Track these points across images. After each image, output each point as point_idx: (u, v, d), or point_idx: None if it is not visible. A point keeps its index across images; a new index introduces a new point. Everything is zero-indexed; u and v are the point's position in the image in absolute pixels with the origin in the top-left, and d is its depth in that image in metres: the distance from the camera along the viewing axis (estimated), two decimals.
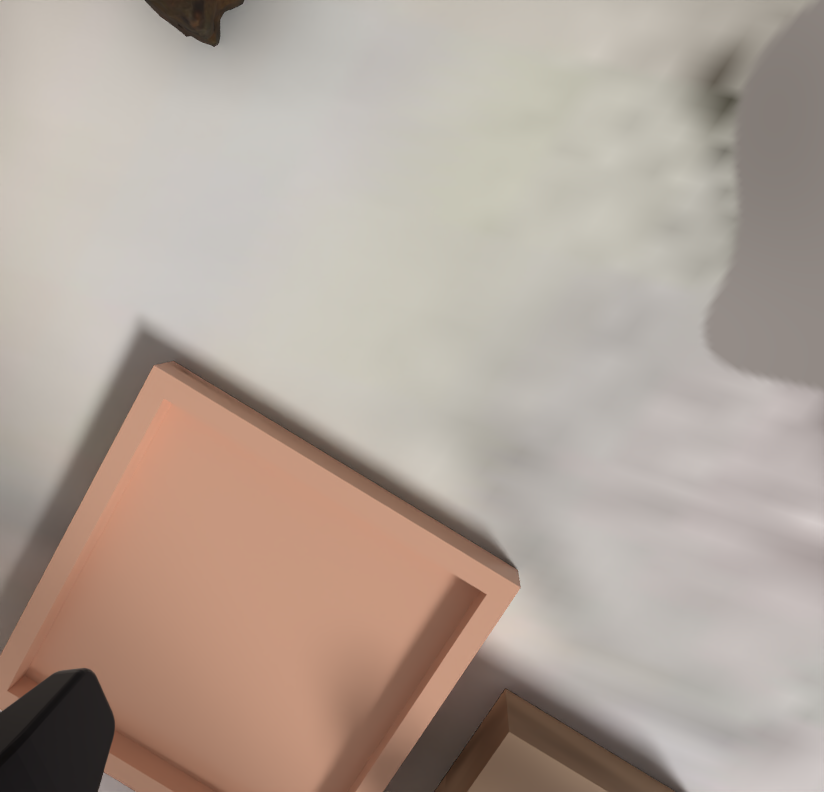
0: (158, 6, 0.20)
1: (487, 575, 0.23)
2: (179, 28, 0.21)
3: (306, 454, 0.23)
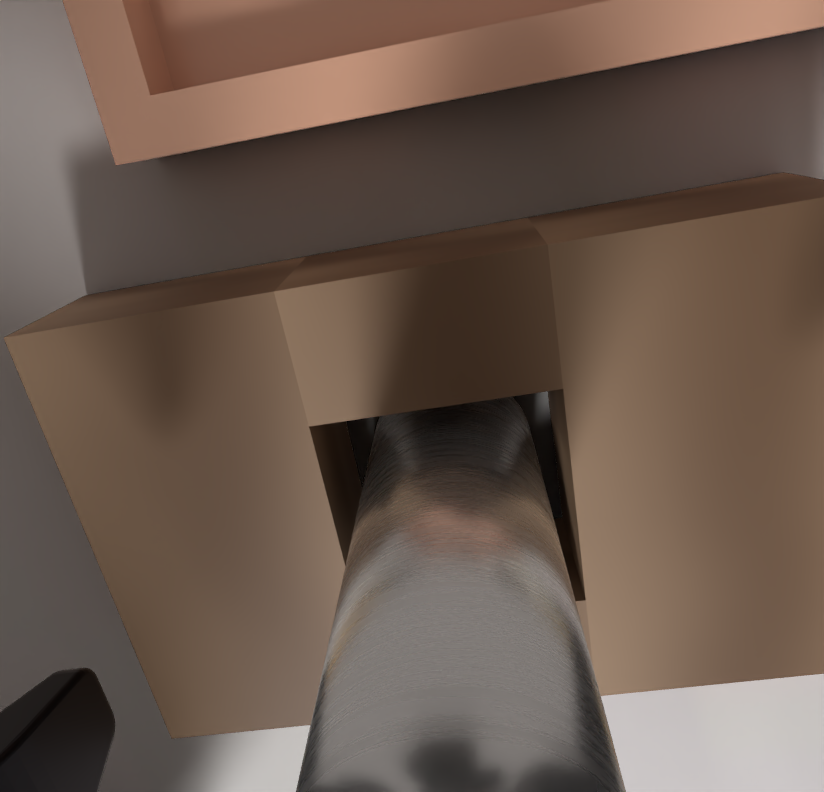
0: None
1: None
2: None
3: None
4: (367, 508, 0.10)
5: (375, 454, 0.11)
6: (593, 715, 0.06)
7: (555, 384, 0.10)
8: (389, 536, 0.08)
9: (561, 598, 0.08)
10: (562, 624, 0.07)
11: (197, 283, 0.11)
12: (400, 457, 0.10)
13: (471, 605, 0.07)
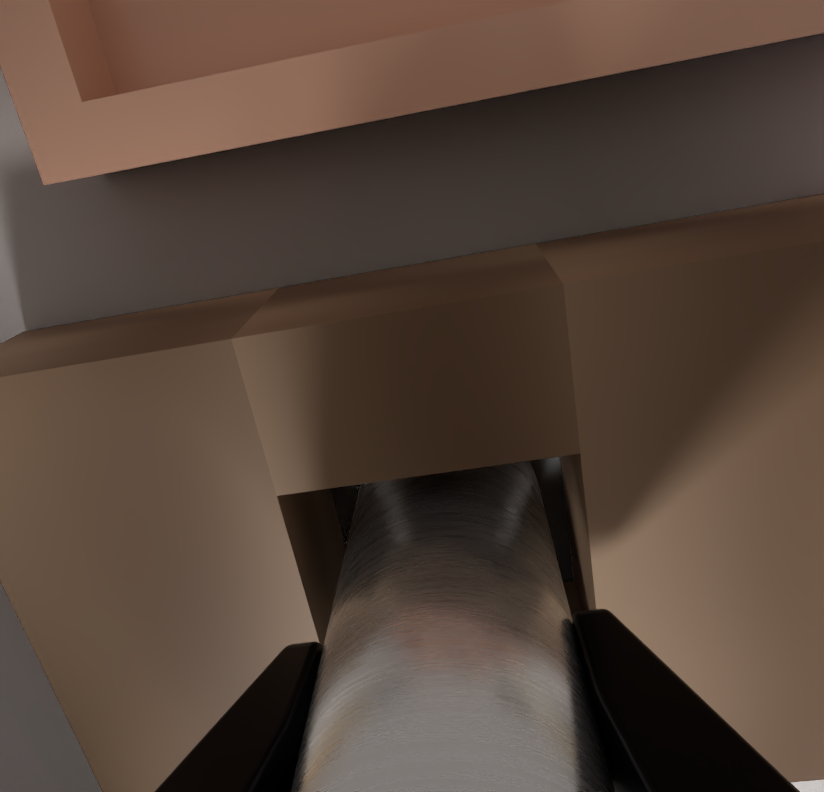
0: None
1: None
2: None
3: None
4: (344, 602, 0.08)
5: (357, 522, 0.10)
6: None
7: (571, 448, 0.08)
8: (366, 655, 0.07)
9: (586, 747, 0.06)
10: None
11: (148, 321, 0.10)
12: (385, 535, 0.08)
13: (471, 782, 0.05)
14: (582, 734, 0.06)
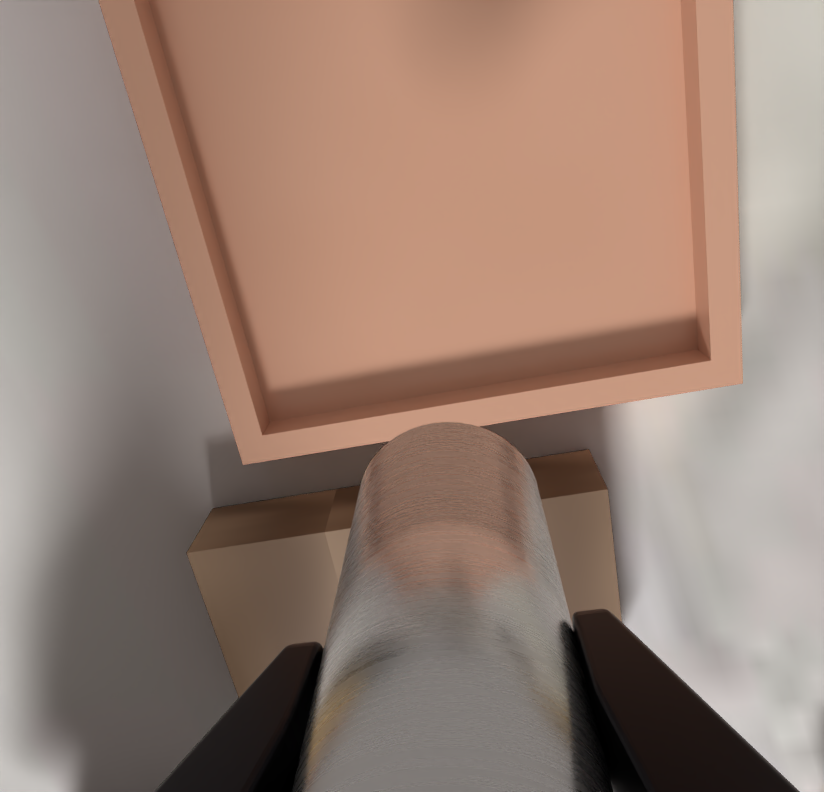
0: None
1: (732, 345, 0.18)
2: None
3: (729, 47, 0.16)
4: (344, 607, 0.08)
5: (357, 526, 0.10)
6: None
7: None
8: (367, 662, 0.07)
9: (586, 753, 0.06)
10: None
11: (279, 510, 0.21)
12: (385, 539, 0.08)
13: (471, 789, 0.05)
14: (582, 739, 0.06)
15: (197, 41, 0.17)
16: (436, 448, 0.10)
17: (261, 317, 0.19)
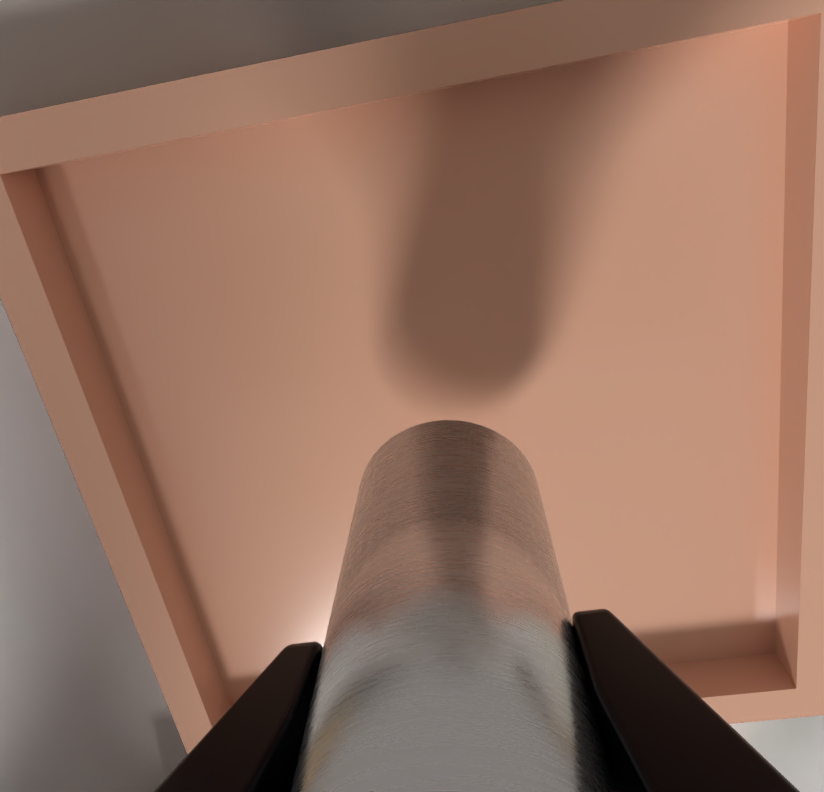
0: None
1: None
2: None
3: None
4: (343, 605, 0.08)
5: (357, 524, 0.09)
6: None
7: None
8: (367, 659, 0.07)
9: (587, 752, 0.06)
10: None
11: None
12: (384, 537, 0.08)
13: (471, 788, 0.05)
14: (583, 738, 0.06)
15: (127, 290, 0.13)
16: (436, 446, 0.10)
17: (219, 601, 0.15)
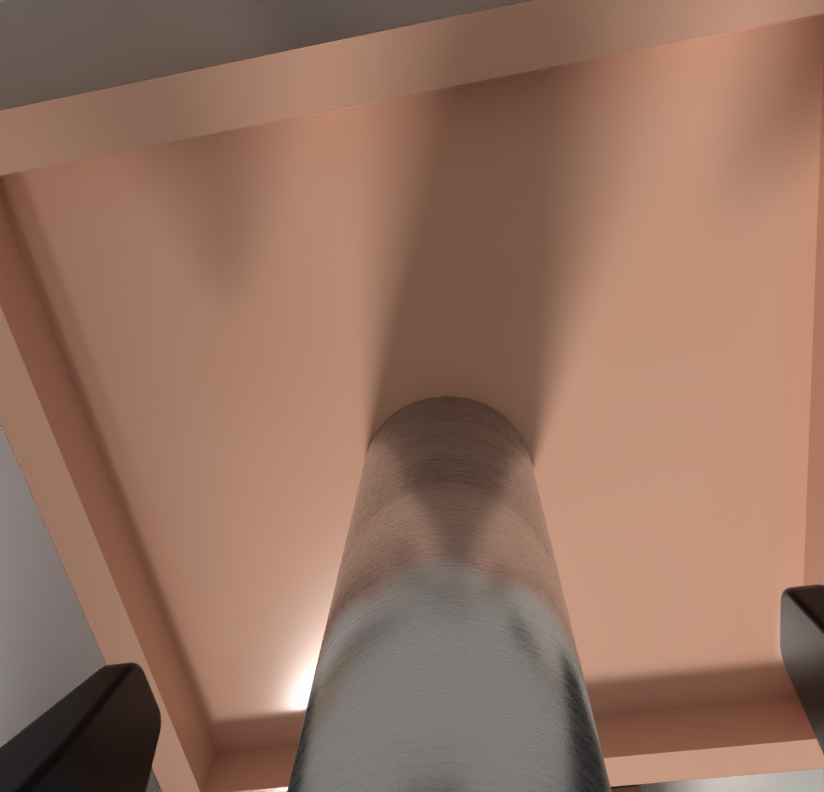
0: None
1: None
2: None
3: None
4: (352, 552, 0.09)
5: (363, 488, 0.10)
6: None
7: None
8: (373, 592, 0.07)
9: (565, 665, 0.07)
10: (565, 698, 0.06)
11: None
12: (389, 495, 0.09)
13: (463, 683, 0.06)
14: (562, 654, 0.07)
15: (97, 310, 0.12)
16: (436, 418, 0.11)
17: (201, 640, 0.14)
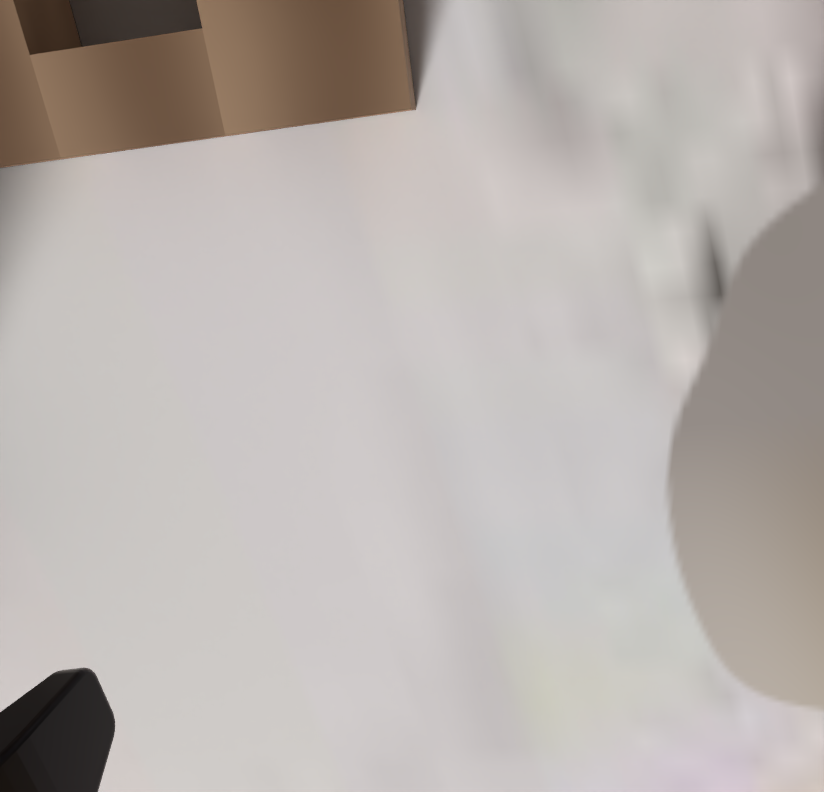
0: None
1: None
2: None
3: None
4: None
5: None
6: None
7: None
8: None
9: None
10: None
11: None
12: None
13: None
14: None
15: None
16: None
17: None
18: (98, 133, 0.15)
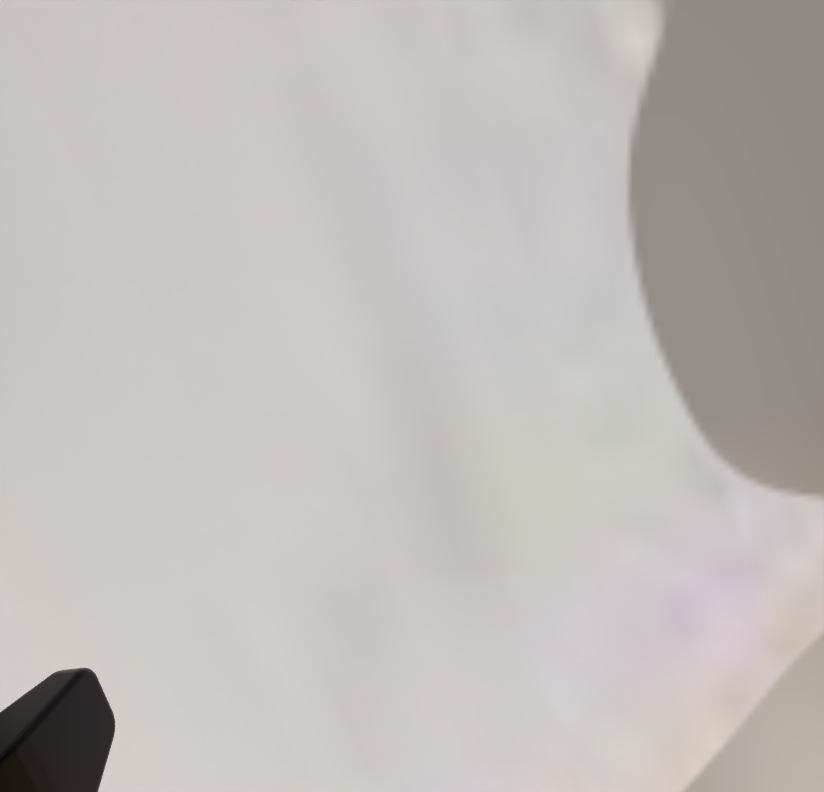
0: None
1: None
2: None
3: None
4: None
5: None
6: None
7: None
8: None
9: None
10: None
11: None
12: None
13: None
14: None
15: None
16: None
17: None
18: None
